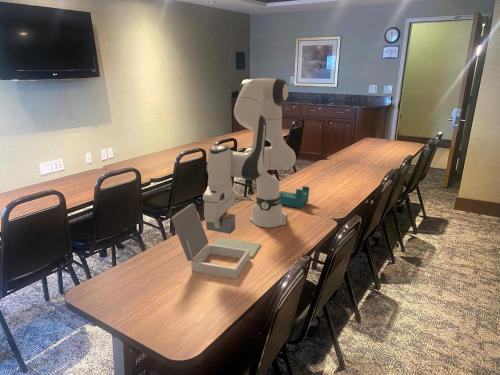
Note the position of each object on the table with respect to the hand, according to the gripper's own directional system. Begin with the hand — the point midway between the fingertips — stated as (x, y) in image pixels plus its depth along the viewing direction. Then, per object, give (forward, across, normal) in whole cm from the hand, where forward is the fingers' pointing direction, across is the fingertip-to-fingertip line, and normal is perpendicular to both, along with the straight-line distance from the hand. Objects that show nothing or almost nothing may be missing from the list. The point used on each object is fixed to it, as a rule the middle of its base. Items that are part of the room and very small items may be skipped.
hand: (220, 224), depth 135 cm
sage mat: (+18, -15, 0) cm, 23 cm away
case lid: (+4, 0, -12) cm, 13 cm away
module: (+2, 0, 0) cm, 2 cm away
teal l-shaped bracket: (+18, -79, +11) cm, 82 cm away
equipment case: (+17, 0, -1) cm, 17 cm away
